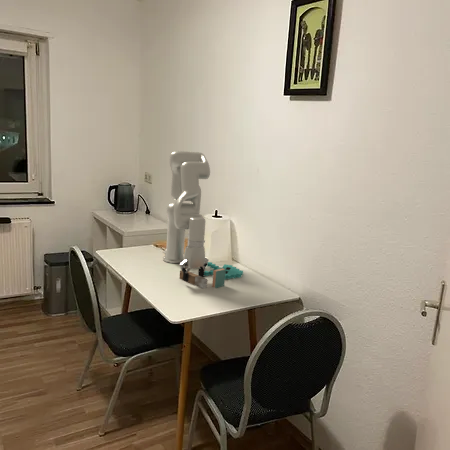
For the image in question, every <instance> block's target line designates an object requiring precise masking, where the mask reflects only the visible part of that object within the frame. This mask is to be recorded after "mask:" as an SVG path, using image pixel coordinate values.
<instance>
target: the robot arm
mask: <svg viewBox="0 0 450 450" xmlns="http://www.w3.org/2000/svg"><path fill="white" fill-rule="evenodd" d="M169 166H170V170H171V174H172V175H171V183H170V184H171V185H170V187H171V188H170V196H171V198H172V200H173V201H175V202H171V203H169V204H168V205H167V206H166V207H167V208H166V216H167V217H166V218H167V233H166V248H165V250H163V251H162V253H163V254H164V256H163V257H162V260H163V261H164V262H166V263H170V264H179V268H180V271H181V270H182V272H183V280H182V281H184V282H186V281H188V278H189V273H188V271H189V272H190V270H191V269H197V268H198V274H197V275H199V276H201V277H204V276H205V275H204V272H205V271H206V267H208V266H207V263H208V262H210V260H209V259H208V258H207V257H206V249H205V241H206V240H205V235H206V234H205V231H206V219H205V217H204V216H203V215H202V214H200V213H201V211H200V210H201V203H202V202H201V200H202V188H201V186H200V182H199V181H200V180H208V179H209V177H210V176H211V168H210V167H211V166H210V164H209V161H208V160H207V158H206V156H205V154H204V153H202V152H198V151H184V150H176V151H173V152H171V153H170V155H169ZM186 201H187V202H186ZM186 230H187V231H188V232H187V233H188V234H187V246H185V242H186V241H185V238H186ZM204 278H205V277H204Z"/></svg>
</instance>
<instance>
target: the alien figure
mask: <svg viewBox="0 0 450 450" xmlns="http://www.w3.org/2000/svg"><path fill="white" fill-rule="evenodd" d="M206 267H210V268H209V269H210V270H204V276H206V277H208V276H213V271H214V270H217V269H222V268H223V269H226V272H225V280H226V279H227V280H231V279H236V278H239V279H240V278H242V276H243V273H244V270H241V269H240V268H237V266H234V265H233V264H226V263H225V264H223V266H221V267H219V265H216V263H213V262H212V261H211V262H210V261H208V263H207V266H206Z"/></svg>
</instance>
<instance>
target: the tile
mask: <svg viewBox="0 0 450 450" xmlns="http://www.w3.org/2000/svg"><path fill="white" fill-rule="evenodd" d="M221 268H222V267H221ZM225 272H226V269H223V268H222V269H217V270H214V271H213V275H212V284H211V285H212V286H211V287H212V288H214V289H217V288H221V287H224V286H225V283H226V281H225V280H226V279H225Z"/></svg>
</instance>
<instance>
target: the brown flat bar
mask: <svg viewBox="0 0 450 450" xmlns="http://www.w3.org/2000/svg"><path fill="white" fill-rule="evenodd" d="M188 273H189V278H188V281H185V282H186V283H189V284H190V285H193V286H196V287H198V288H200V289H205V288H208V278H206V277H201V276H199V275H198V274H196V273H194V272H192V271H190V270H189V271H188ZM179 279H180V280H182V281H184V280H183V272H182V270H181V269H180V271H179Z"/></svg>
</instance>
